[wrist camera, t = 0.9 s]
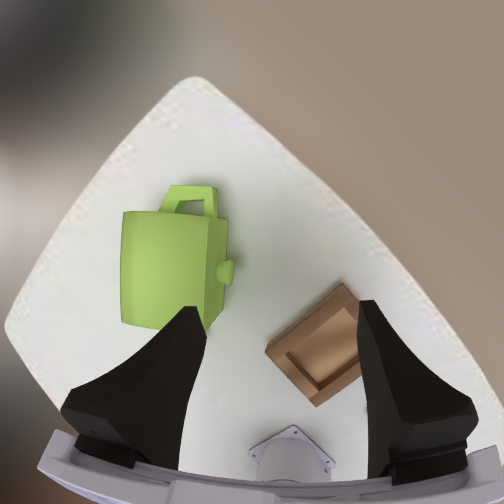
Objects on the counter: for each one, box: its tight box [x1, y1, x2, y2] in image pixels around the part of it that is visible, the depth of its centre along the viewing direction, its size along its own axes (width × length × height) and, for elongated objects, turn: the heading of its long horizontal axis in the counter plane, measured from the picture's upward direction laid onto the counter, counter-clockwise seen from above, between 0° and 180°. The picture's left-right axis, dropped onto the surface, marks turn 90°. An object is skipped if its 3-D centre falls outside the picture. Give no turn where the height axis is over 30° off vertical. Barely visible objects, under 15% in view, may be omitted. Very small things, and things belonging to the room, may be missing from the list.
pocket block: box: [265, 283, 362, 407], centre depth 33 cm, size 9×11×3 cm
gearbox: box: [120, 185, 234, 330], centre depth 32 cm, size 18×10×10 cm, turn 176°
